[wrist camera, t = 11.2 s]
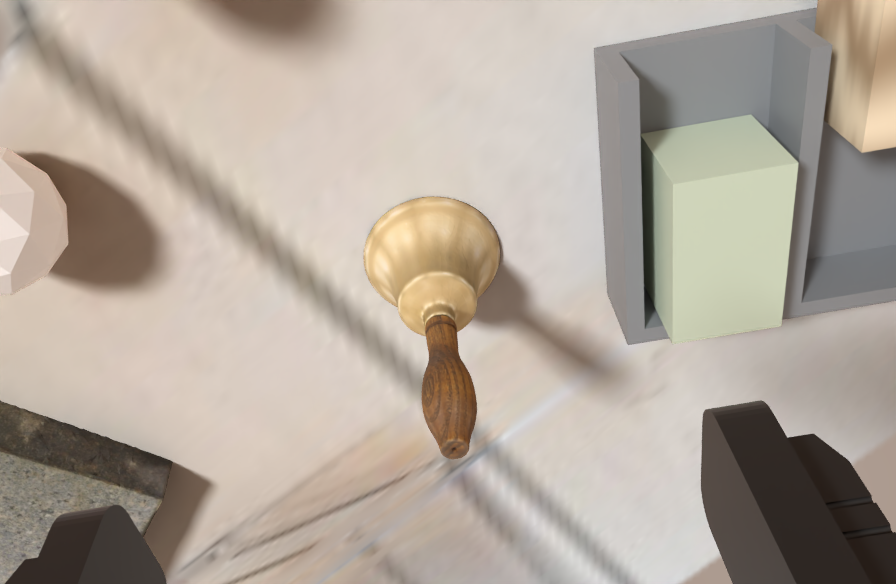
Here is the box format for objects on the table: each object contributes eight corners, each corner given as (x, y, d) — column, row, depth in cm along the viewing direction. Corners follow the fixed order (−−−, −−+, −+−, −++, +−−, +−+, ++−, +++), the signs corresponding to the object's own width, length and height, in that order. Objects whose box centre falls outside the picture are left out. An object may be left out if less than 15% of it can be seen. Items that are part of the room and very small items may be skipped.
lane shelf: (593, 48, 41) (618, 83, 37) (962, -19, 40) (1029, 9, 36) (607, 294, 50) (627, 345, 46) (907, 243, 49) (956, 290, 45)
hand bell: (506, 196, 46) (553, 377, 33) (494, 311, 51) (531, 509, 37) (362, 194, 45) (353, 377, 32) (364, 311, 50) (356, 512, 37)
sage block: (640, 134, 43) (673, 184, 38) (751, 114, 42) (798, 162, 38) (643, 283, 48) (672, 344, 43) (741, 266, 48) (781, 326, 43)
